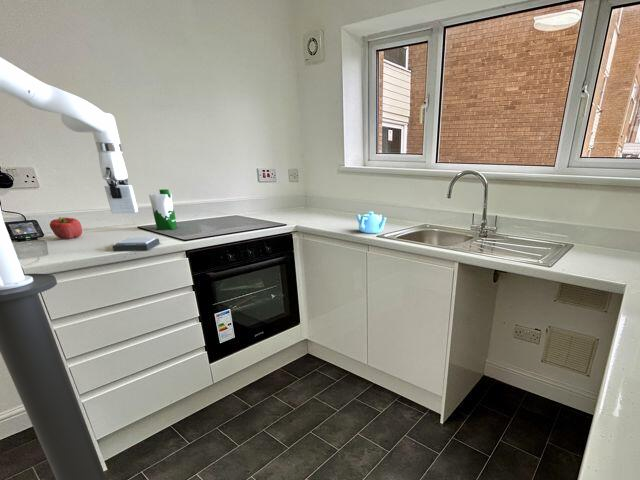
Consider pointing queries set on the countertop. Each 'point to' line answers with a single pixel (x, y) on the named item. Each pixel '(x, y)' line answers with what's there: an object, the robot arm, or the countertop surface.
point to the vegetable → (66, 227)
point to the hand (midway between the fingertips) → (121, 197)
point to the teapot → (371, 223)
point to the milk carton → (163, 210)
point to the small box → (122, 200)
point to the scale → (136, 244)
